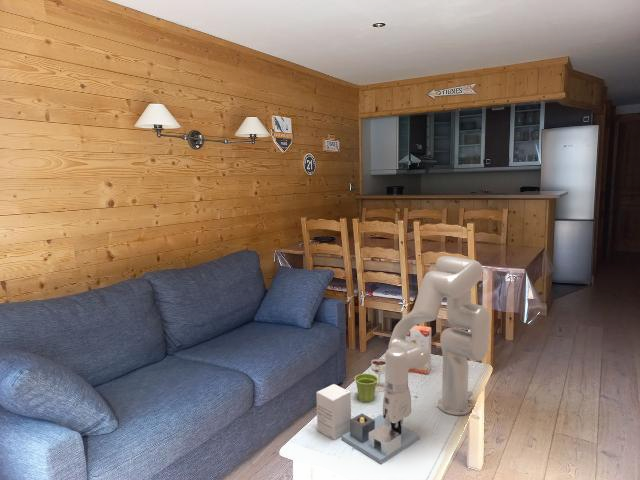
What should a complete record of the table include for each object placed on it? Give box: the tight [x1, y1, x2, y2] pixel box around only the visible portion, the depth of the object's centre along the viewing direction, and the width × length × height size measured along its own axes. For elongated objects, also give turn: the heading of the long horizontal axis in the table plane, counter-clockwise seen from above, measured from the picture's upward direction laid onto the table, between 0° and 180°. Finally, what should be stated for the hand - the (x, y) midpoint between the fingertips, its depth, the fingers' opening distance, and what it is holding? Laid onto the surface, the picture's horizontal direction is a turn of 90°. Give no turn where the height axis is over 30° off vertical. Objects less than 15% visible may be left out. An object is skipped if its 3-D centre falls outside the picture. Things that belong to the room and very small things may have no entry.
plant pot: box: [354, 373, 379, 403], centre depth 186 cm, size 9×9×9 cm
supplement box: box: [315, 383, 352, 441], centre depth 164 cm, size 9×9×15 cm
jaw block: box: [349, 413, 375, 443], centre depth 158 cm, size 6×6×6 cm
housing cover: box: [369, 425, 401, 456], centre depth 152 cm, size 7×8×4 cm
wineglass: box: [370, 358, 385, 393], centre depth 194 cm, size 7×7×12 cm
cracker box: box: [405, 325, 432, 375], centre depth 210 cm, size 14×6×21 cm, turn 67°
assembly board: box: [341, 414, 421, 465], centre depth 158 cm, size 20×18×9 cm
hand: (396, 435), depth 156 cm, fingers closed
